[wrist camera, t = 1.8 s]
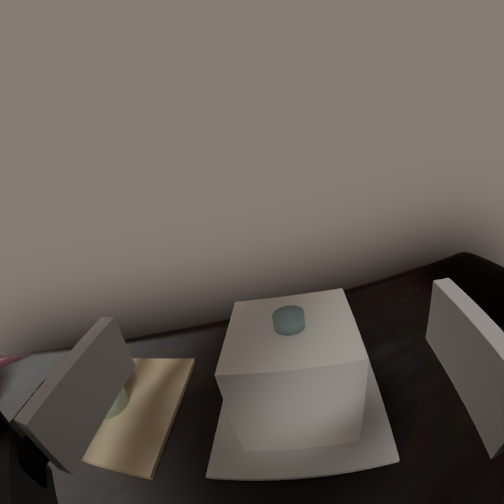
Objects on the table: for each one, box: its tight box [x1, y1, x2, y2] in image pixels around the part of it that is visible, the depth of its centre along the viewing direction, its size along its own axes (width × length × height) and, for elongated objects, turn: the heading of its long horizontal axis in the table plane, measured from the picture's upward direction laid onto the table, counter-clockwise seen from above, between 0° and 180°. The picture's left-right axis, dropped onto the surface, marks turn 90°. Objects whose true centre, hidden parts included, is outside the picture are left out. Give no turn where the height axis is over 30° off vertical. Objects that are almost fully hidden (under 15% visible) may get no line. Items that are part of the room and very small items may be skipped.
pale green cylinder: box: [105, 387, 129, 419], centre depth 28 cm, size 6×6×4 cm
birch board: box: [81, 358, 196, 480], centre depth 28 cm, size 18×18×1 cm
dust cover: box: [215, 288, 369, 451], centre depth 23 cm, size 10×10×11 cm
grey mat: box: [206, 361, 399, 481], centre depth 25 cm, size 16×16×1 cm
